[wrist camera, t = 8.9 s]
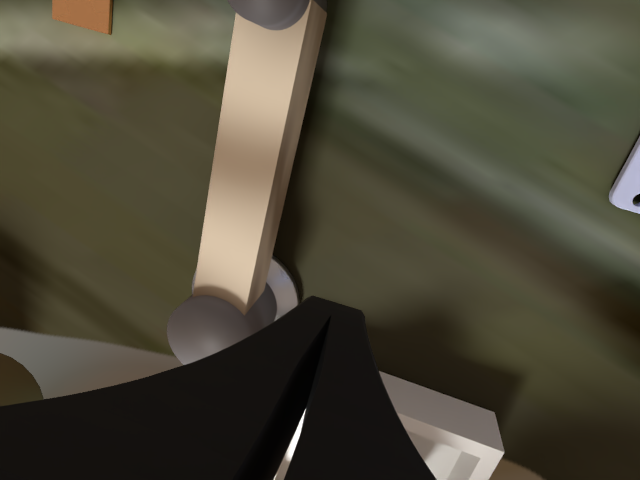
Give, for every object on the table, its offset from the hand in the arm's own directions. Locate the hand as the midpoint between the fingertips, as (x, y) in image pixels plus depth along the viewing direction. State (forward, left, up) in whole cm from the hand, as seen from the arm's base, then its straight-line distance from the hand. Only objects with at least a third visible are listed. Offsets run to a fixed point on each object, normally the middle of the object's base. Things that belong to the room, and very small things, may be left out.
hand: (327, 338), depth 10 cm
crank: (+5, 0, -10) cm, 11 cm away
